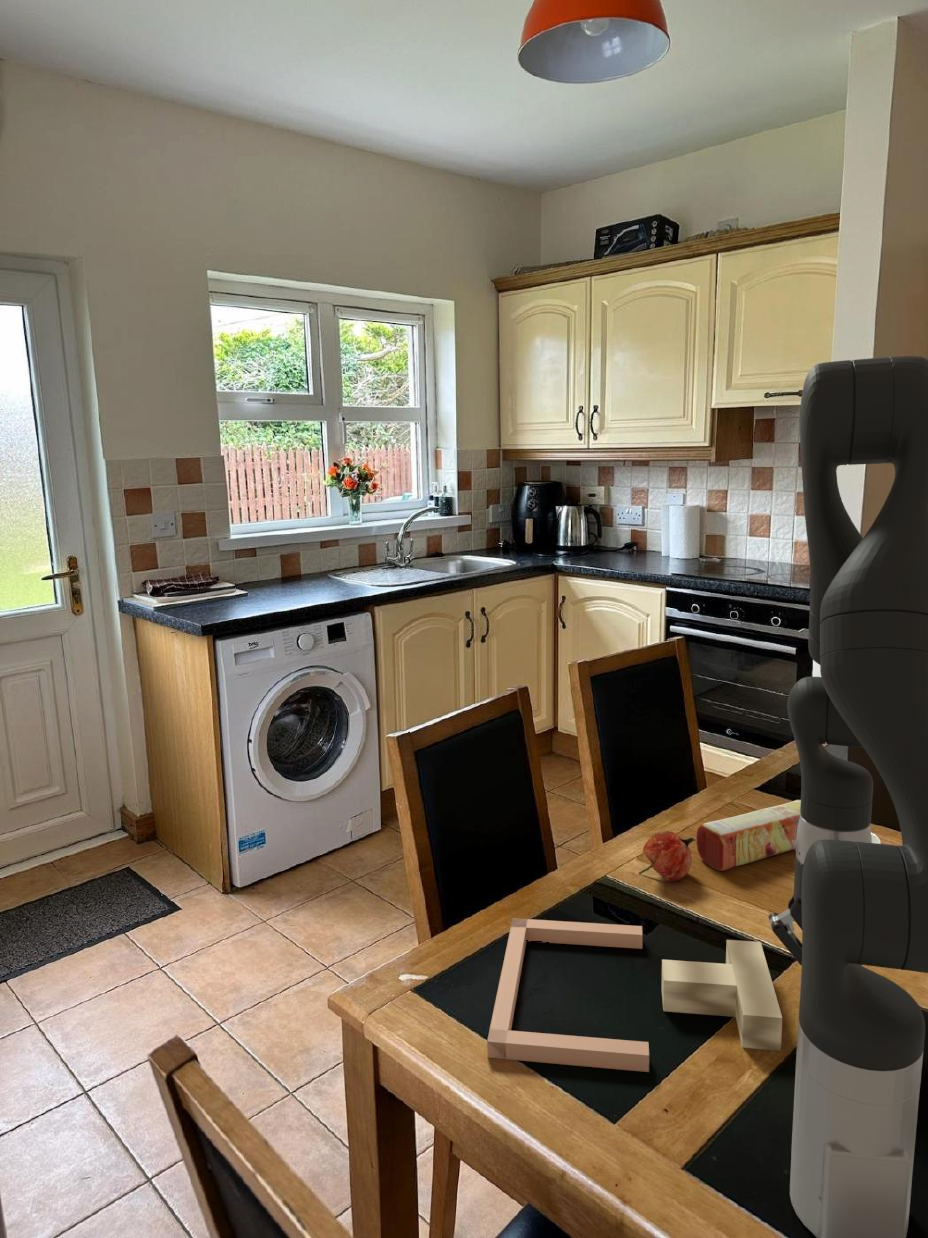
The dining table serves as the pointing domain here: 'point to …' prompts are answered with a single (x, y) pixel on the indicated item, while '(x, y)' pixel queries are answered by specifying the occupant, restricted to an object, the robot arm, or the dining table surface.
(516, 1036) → the frame
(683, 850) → the pomegranate
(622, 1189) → the dining table surface
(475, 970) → the dining table surface
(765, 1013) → the T block
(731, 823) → the snack package
